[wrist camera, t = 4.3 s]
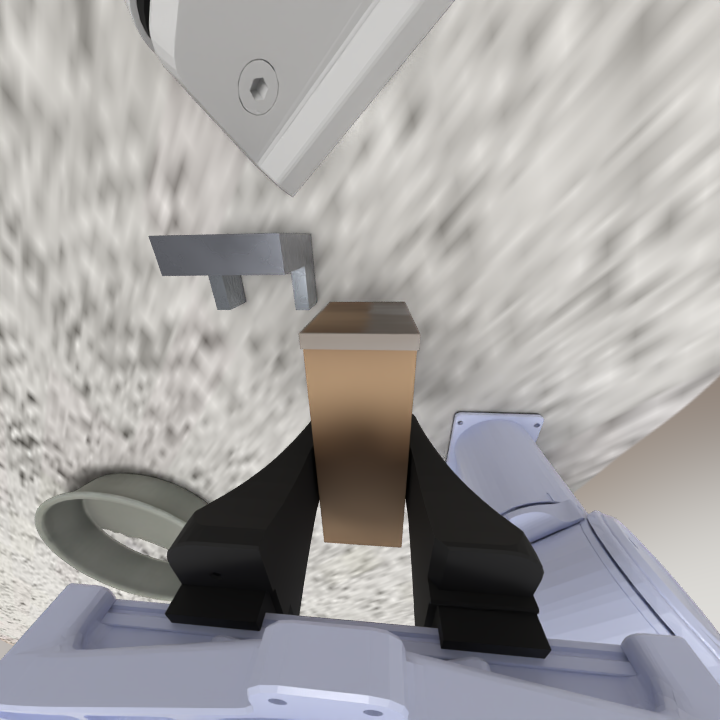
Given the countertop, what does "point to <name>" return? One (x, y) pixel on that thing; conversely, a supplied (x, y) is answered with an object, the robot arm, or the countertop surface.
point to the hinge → (284, 67)
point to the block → (361, 416)
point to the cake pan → (119, 530)
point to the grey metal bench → (239, 262)
